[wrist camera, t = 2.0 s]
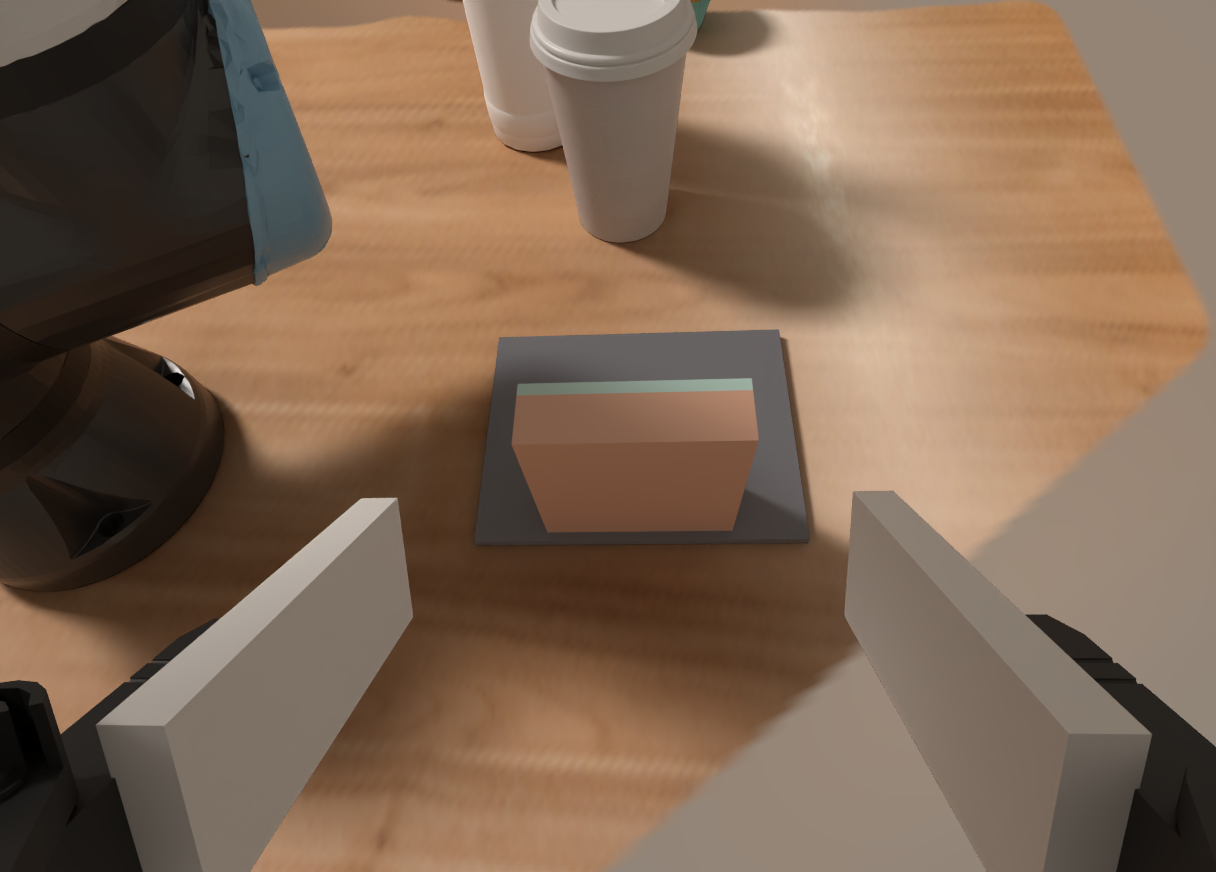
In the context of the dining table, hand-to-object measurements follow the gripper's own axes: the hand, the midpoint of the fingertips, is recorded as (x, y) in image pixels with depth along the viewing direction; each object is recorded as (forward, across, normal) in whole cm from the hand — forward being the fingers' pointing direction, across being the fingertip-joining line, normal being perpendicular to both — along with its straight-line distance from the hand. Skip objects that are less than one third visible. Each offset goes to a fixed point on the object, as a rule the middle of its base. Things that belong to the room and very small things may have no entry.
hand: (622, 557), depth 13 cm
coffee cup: (+39, -1, +9) cm, 40 cm away
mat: (+25, 0, -4) cm, 26 cm away
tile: (+21, 0, -7) cm, 22 cm away
